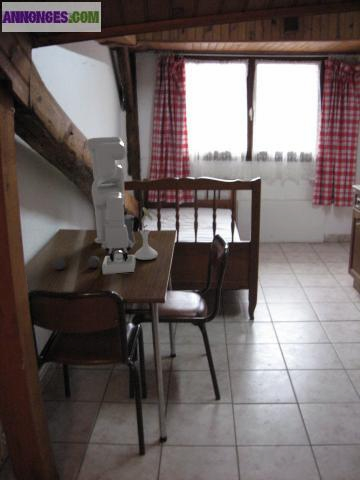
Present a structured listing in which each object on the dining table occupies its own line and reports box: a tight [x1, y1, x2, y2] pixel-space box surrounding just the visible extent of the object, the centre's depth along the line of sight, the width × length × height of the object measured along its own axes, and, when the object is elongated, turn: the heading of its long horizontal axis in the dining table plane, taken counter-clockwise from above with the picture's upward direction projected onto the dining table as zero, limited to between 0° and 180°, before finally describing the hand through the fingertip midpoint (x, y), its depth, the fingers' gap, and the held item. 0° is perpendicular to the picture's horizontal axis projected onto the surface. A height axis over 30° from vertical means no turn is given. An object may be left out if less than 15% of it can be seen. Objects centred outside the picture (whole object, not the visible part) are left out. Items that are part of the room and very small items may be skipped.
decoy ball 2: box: [87, 255, 101, 269], centre depth 222 cm, size 6×6×6 cm
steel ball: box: [113, 249, 124, 262], centre depth 219 cm, size 6×6×6 cm
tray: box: [101, 254, 136, 275], centre depth 220 cm, size 14×14×4 cm
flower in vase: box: [134, 206, 159, 261], centre depth 231 cm, size 13×11×25 cm
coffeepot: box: [124, 211, 141, 247], centre depth 254 cm, size 15×9×18 cm, turn 62°
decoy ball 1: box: [53, 257, 67, 270], centre depth 222 cm, size 6×6×6 cm
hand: (119, 260), depth 219 cm, fingers closed on steel ball, 5 cm apart
